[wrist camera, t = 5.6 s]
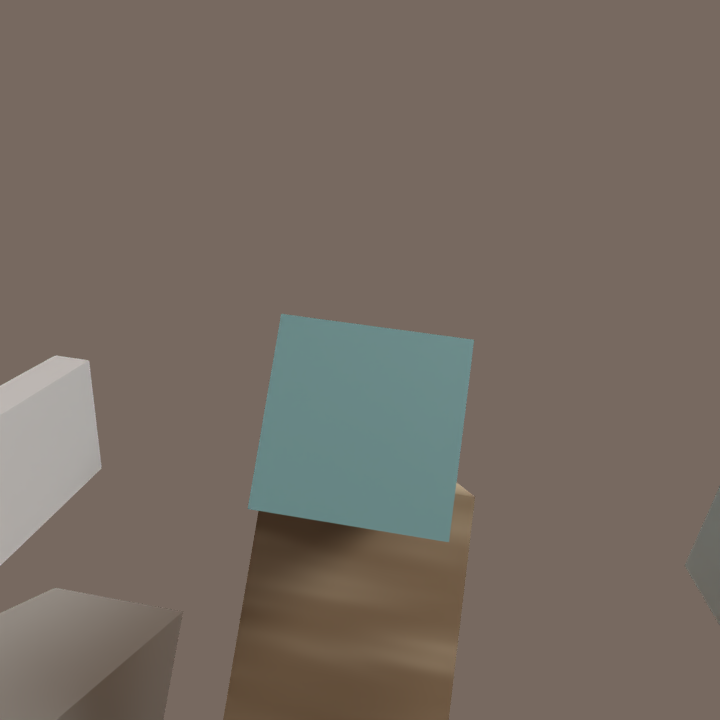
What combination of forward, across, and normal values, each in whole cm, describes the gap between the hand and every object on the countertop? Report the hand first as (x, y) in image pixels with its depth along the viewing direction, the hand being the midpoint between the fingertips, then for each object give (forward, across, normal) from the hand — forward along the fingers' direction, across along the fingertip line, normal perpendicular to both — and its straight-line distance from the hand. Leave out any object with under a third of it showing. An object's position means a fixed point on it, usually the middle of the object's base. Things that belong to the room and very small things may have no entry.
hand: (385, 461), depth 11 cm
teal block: (+8, -1, -6) cm, 10 cm away
